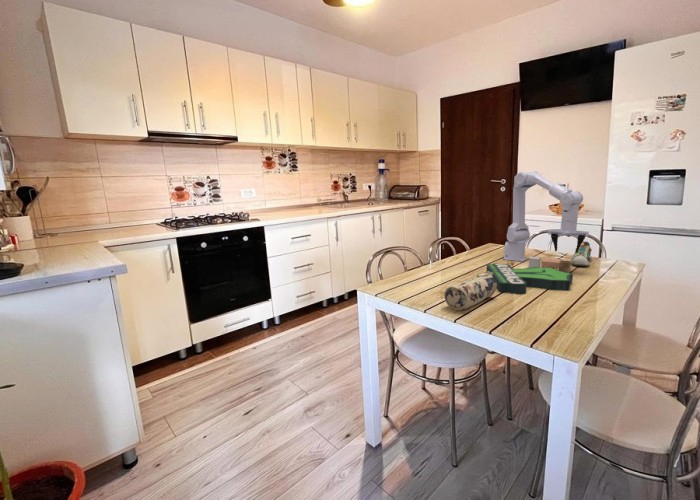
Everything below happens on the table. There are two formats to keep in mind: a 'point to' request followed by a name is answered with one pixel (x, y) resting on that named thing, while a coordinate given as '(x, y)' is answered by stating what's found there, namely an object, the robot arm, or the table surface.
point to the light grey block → (534, 262)
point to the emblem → (528, 278)
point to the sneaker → (582, 255)
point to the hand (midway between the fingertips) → (566, 251)
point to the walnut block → (564, 266)
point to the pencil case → (470, 291)
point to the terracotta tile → (550, 262)
